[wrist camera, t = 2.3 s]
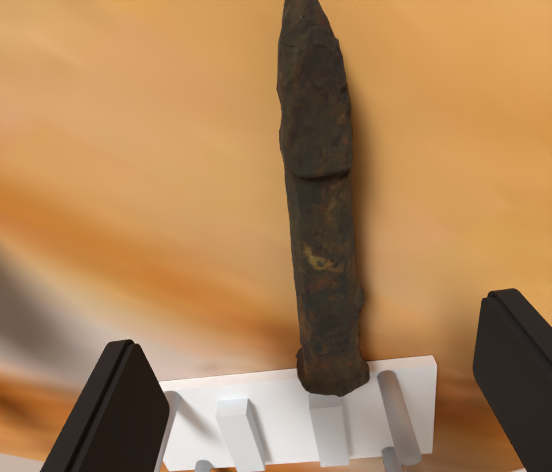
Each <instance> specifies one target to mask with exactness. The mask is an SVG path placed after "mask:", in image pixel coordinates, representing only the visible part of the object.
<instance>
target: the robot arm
mask: <svg viewBox="0 0 552 472" xmlns="http://www.w3.org/2000/svg"><path fill="white" fill-rule="evenodd" d="M473 373H474V377H475V379H476V382H477V383H478V385H479V387H480V389H481V391H482V392H483V394H484V396H485V398H486V399H487V401H488V403H489V405H490V407H491V408H492V410H493V412H494V414H495V416H496V417H497V419H498V421H499V423H500V424H501V426H502V428H503V430H504V432H505V433H506V435H507V437H508V439H509V440H510V442H511V444H512V446H513V448H514V449H515V451H516V453H517V455H518V457H519V458H520V460H521V462H522V464H523V465H524V467H525V469H526V471H527V472H552V327H551V326H550V325H549V324H548V323H547V322H546V320H545V319H544V318H543V317H542V316H541V315H540V314H539V313H538V312H537V311H536V309H535V308H534V307H533V306H532V305H531V304H530V303H529V302H528V301H527V300H526V298H525V297H524V296H523V295H522V294H521V293H520V292H519V291H518V290H517V289H514V288H512V289H505V290H497V291H491V292H489V293H488V296H487V298H483V299H482V302H481V309H480V316H479V324H478V331H477V339H476V346H475V354H474V361H473ZM169 414H170V407H169V403H168V400H167V398H166V396H165V394H164V392H163V390H162V388H161V386H160V384H159V382H158V380H157V378H156V376H155V374H154V372H153V370H152V368H151V366H150V364H149V362H148V360H147V358H146V356H145V354H144V352H143V350H142V348H141V346H140V345H139V344H135V343H134V342H133V341H132V340H131V339H128V340H121V341H113V342H109V343H108V344H107V345H106V347H105V349H104V351H103V353H102V355H101V356H100V358H99V360H98V362H97V364H96V366H95V368H94V370H93V372H92V374H91V375H90V377H89V379H88V381H87V383H86V385H85V387H84V389H83V391H82V393H81V394H80V396H79V398H78V400H77V402H76V404H75V406H74V408H73V410H72V412H71V414H70V415H69V417H68V419H67V421H66V423H65V425H64V427H63V429H62V431H61V433H60V434H59V436H58V438H57V440H56V442H55V444H54V446H53V448H52V450H51V452H50V454H49V455H48V457H47V459H46V461H45V463H44V465H43V467H42V469H41V471H40V472H154V470H155V467H156V463H157V459H158V456H159V452H160V448H161V444H162V441H163V437H164V433H165V430H166V426H167V422H168V419H169Z"/></svg>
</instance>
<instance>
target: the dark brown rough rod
mask: <svg viewBox="0 0 552 472" xmlns="http://www.w3.org/2000/svg"><path fill="white" fill-rule="evenodd" d="M277 92H278V96H279V99H280V103H281V111H282V118H281V126H280V130H279V141H280V150H281V153H282V156H283V162H284V169H285V184H286V193H287V203H288V211H289V219H290V236H291V251H292V261H293V267H294V281H295V288H296V296H297V308H298V319H299V327H300V341H301V344H302V347H301V348H300V349H299V350H298V352H297V354H296V357H297V376H298V379H299V381H300V382H301V385H302V387H303V388H304V389H305V391H307V392H309V393H311V394H320V395H326V396H327V395H336V396H338V397H343V396H345V395H347V394H348V393H351V392H352V391H354V390H355V389H357V388H359V387H361V386H363V385H364V384H366V383H368V382H369V380H370V369H369V365H368V363H367V362H366V361H365V359H364V358H363V357H362V355H361V351H360V349H359V331H358V328H359V323H358V322H359V317H360V312H361V306H363V305H364V301H365V296H364V291H363V289H362V286H361V284H360V282H359V279H358V277H357V275H356V269H355V240H354V228H353V216H352V170H351V166H352V157H353V152H352V124H351V104H350V99H349V93H348V88H347V82H346V75H345V69H344V63H343V56H342V53H341V50H340V46H339V41H338V39H337V38H335V37H334V34H333V31H332V29H331V27H330V23H329V21H328V18H327V17H326V15H325V13H324V12H323V10H322V8H321V5H320V3H319V1H318V0H285V3H284V10H283V18H282V29H281V33H280V37H279V41H278V74H277Z"/></svg>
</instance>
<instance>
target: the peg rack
mask: <svg viewBox="0 0 552 472" xmlns="http://www.w3.org/2000/svg"><path fill="white" fill-rule="evenodd" d="M367 363H368V365H369V369H370V380H369V382H368V383H366V384H364V385H363V386H361V387H359V388H357V389H355V390H354V391H352V392H351V393H348V394H347V395H345V396H343V397H338V396H336V395H327V396H326V395H320V394H311V393H309V392H307V391H305V389H304V388H303V387H302V385H301V382H300V381H299V379H298V376H297V368H295V369H284V370H274V371H264V372H254V373H243V374H233V375H223V376H212V377H202V378H192V379H181V380H171V381H161V382H159V384H160V386H161V388H162V390H163V392H164V394H165V396H166V398H167V400H168V403H169V407H170V414H169V419H168V422H167V426H166V430H165V433H164V437H163V441H162V444H161V448H160V452H159V456H158V459H157V463H156V467H155V470H154V472H159V471H160V467H161V464H162V460H163V462H164V463H165V465H166V467H167V469H168V470H169V471H180V470H194V469H195V470H194V472H211V468H223V467H236V470H237V472H253V471H265V465H267V464H282V463H296V462H311V461H320V465H321V467H328V466H343V465H350V463H349V459H355V458H369V457H383V462H384V466H385V471H386V472H404V471H403V467H402V465H406V466H411V465H415V464H418V463H419V462H420V461H421V460H422V455H421V454H428V453H432V449H433V431H434V413H435V394H436V376H437V364H436V362H435V359H434V357H433V355H429V356H419V357H408V358H398V359H388V360H377V361H367Z"/></svg>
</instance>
